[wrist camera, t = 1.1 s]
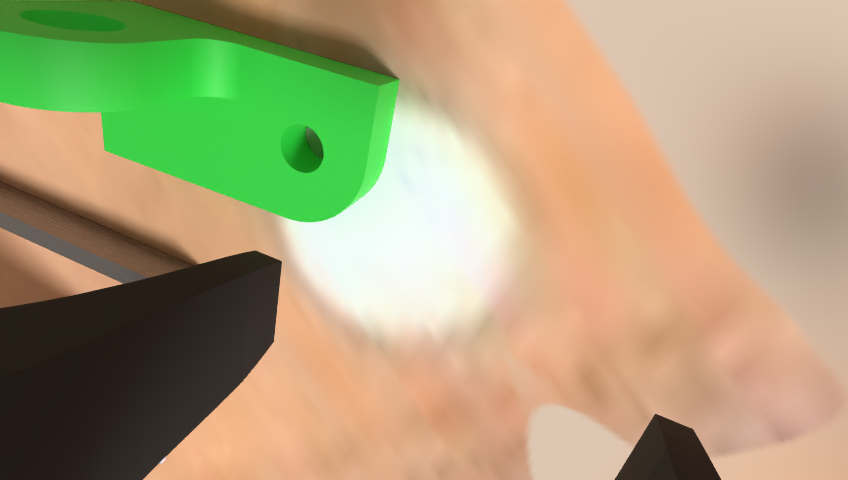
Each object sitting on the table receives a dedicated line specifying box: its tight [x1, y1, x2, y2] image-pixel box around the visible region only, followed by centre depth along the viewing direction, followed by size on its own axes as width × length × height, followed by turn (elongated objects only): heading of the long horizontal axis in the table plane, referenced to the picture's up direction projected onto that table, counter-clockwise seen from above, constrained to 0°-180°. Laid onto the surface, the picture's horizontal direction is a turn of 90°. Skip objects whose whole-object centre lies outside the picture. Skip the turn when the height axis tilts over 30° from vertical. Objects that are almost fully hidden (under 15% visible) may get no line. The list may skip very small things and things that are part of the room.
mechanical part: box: [0, 0, 400, 222], centre depth 18 cm, size 12×6×8 cm, turn 78°
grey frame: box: [0, 182, 193, 284], centre depth 21 cm, size 21×18×3 cm
